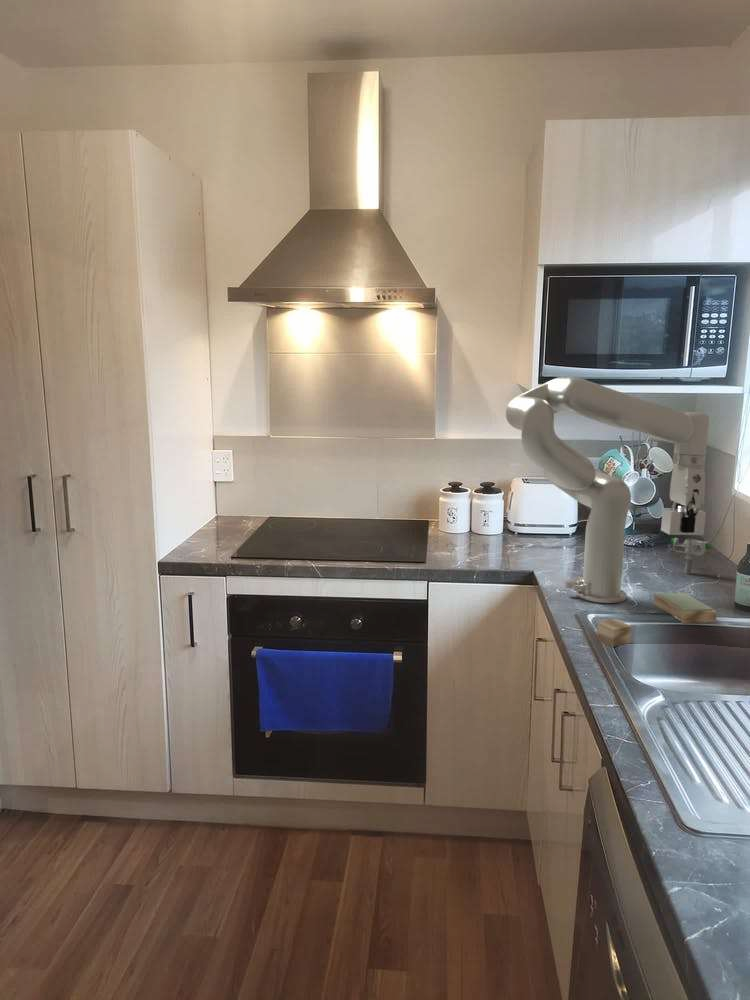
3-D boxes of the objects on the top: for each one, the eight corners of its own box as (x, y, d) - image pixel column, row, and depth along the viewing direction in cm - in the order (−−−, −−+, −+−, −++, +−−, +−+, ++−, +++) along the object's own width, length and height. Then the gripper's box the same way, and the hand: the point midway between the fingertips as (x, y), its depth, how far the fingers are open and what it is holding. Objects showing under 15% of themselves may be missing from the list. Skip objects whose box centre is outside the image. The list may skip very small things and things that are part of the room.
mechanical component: (671, 569, 211) (674, 536, 210) (707, 575, 205) (711, 542, 203) (667, 571, 209) (670, 538, 207) (704, 578, 203) (708, 543, 201)
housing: (669, 534, 184) (671, 508, 183) (660, 530, 189) (663, 504, 188) (703, 534, 184) (706, 508, 183) (694, 530, 189) (696, 504, 188)
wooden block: (683, 623, 167) (684, 611, 166) (654, 603, 180) (654, 592, 180) (715, 622, 167) (716, 610, 167) (684, 602, 181) (685, 591, 181)
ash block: (612, 647, 152) (613, 629, 152) (596, 639, 157) (597, 622, 156) (630, 643, 154) (631, 626, 154) (614, 635, 159) (615, 618, 158)
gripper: (720, 465, 175) (713, 537, 178) (687, 456, 192) (680, 522, 195) (691, 465, 174) (683, 537, 178) (659, 456, 191) (653, 522, 195)
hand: (682, 529), depth 186 cm, fingers closed on housing, 5 cm apart
